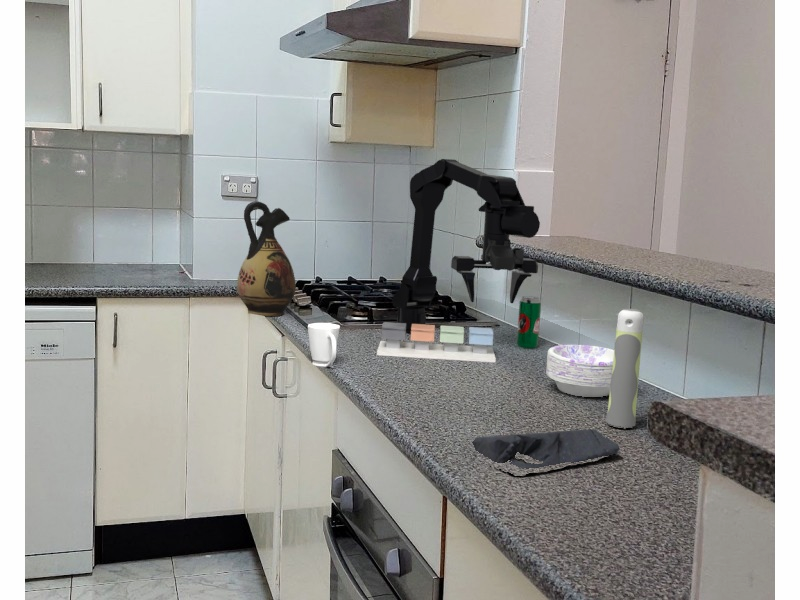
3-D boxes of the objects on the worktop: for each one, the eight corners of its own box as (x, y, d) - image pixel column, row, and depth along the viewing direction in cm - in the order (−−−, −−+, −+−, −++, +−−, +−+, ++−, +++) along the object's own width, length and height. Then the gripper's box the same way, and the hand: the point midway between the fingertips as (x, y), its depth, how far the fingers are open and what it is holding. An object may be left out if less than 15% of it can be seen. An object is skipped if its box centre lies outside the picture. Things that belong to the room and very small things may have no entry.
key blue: (469, 343, 194) (469, 331, 194) (468, 339, 199) (469, 327, 199) (492, 345, 194) (493, 332, 193) (491, 340, 199) (492, 328, 199)
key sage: (439, 342, 194) (440, 329, 194) (439, 337, 199) (440, 325, 199) (463, 343, 194) (464, 331, 194) (462, 338, 199) (463, 326, 199)
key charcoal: (381, 338, 195) (382, 326, 194) (382, 334, 200) (383, 322, 200) (404, 339, 195) (405, 327, 194) (405, 335, 200) (406, 323, 199)
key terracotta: (410, 340, 195) (411, 327, 194) (411, 335, 200) (412, 323, 199) (433, 341, 194) (434, 329, 194) (434, 337, 200) (434, 325, 199)
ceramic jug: (284, 308, 246) (287, 200, 241) (302, 318, 232) (306, 204, 227) (224, 309, 238) (226, 199, 234) (239, 319, 224) (242, 202, 220)
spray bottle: (603, 427, 146) (614, 310, 143) (607, 420, 151) (618, 306, 148) (633, 432, 145) (645, 313, 142) (636, 424, 149) (647, 309, 146)
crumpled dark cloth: (634, 467, 129) (637, 436, 128) (507, 483, 120) (509, 449, 119) (572, 436, 143) (575, 407, 142) (454, 447, 133) (456, 417, 133)
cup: (332, 359, 186) (333, 322, 185) (349, 370, 177) (351, 331, 176) (300, 361, 183) (302, 323, 182) (317, 372, 174) (318, 332, 173)
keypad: (376, 355, 192) (377, 338, 191) (380, 344, 204) (381, 328, 203) (495, 362, 191) (496, 345, 190) (492, 350, 203) (493, 334, 202)
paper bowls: (576, 405, 160) (579, 363, 158) (529, 384, 173) (532, 345, 172) (641, 399, 166) (645, 359, 165) (591, 380, 180) (595, 342, 178)
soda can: (537, 349, 207) (541, 299, 205) (515, 347, 208) (519, 298, 206) (538, 345, 212) (541, 296, 210) (517, 343, 213) (520, 295, 211)
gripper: (464, 235, 186) (460, 307, 188) (548, 238, 189) (543, 309, 191) (452, 230, 196) (448, 299, 199) (532, 233, 200) (527, 301, 202)
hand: (491, 302), depth 198 cm, fingers open, 9 cm apart
